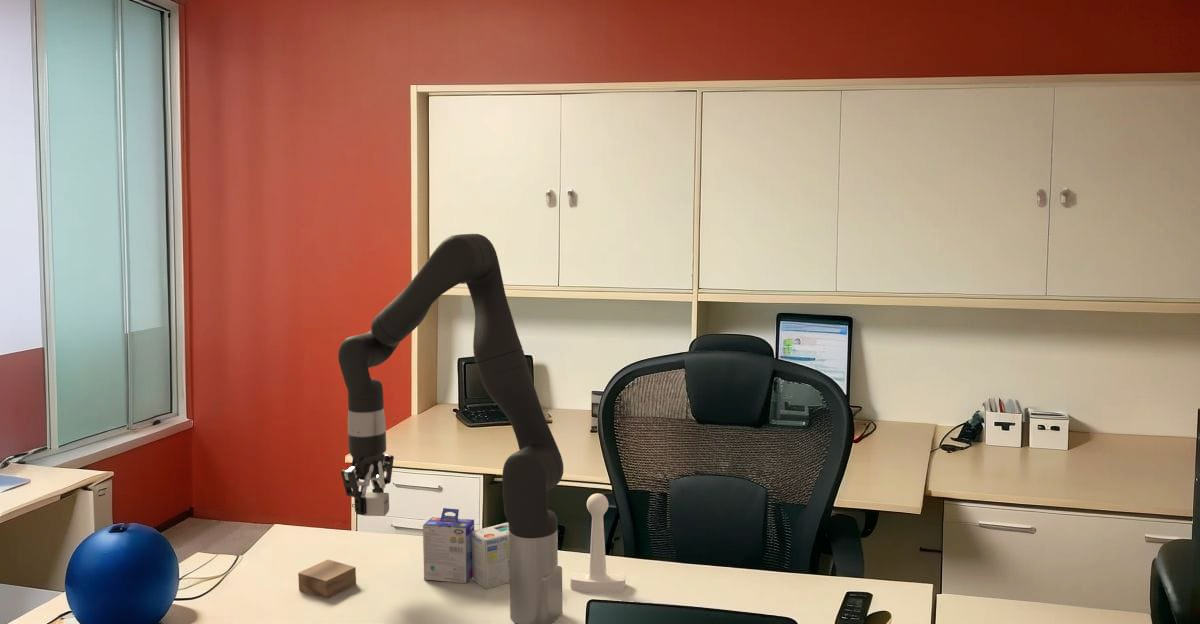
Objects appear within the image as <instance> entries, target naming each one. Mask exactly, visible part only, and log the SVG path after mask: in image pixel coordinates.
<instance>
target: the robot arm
mask: <svg viewBox="0 0 1200 624" xmlns="http://www.w3.org/2000/svg"><path fill="white" fill-rule="evenodd" d="M503 281H504V280H503V277H502V272H501V267H500V261H499V259H498V255H497V251H496V248H495V246H494V245H493V243H492V241H491V240H489V239H488V238H487V237H486V236H484V235H482V234H479V233H464V234H454V235H450V236H448V237H446V238H445V239H443V240H442V241H441V242H440V243H439V244H438V245H437V247H436V248H435V249H434V251H433V252H432V253H431V255H430V256H429V258H428V259H427V261H425V263H424V265H422V267H421V268H420V269H419V271H418V273H416V275H415V276H414V277H413V279H412V280H411V281H410V282H409V283H408V285H406V287H405V288H404V289H403V290H402V291H401V292H400V293H399V294H397V296H396V297H395V298H394V299H392V301H391V302H389V303H388V304H387V305H386V306H385V307H384V308H383V309H382V310H380V311H379V313H378V314H377V315H376V316H375V317H374V318H373V320H372V321H371V326H370V328H371V330H369V331H368V332H365V333H362V334H356V335H352V336H349V337H346V338H345V339H344V340H342V342H341V344H340V346H339V348H338V363H339V366H340V371H341V374H342V377H343V380H344V383H345V386H346V389H347V407H348V409H347V410H348V414H347V435H348V436H347V437H348V438H347V440H348V453H349V454H350V455H351V458H352V460H351V461H352V462H351V465H350V467H349V468H348V469H342V470H341V473H340V474H341V479H342V482H343V487H344V490H345V495H346V496H347V497H352V498H354V504H355V505H354V511H355V514H356V515H359V516H364V515H365V514H366V497H365V495H366V494H367V490H368V487H369V486H370V483H371V485H372V492H371V493H385V492H384V489H385V488H386V485H388V484H390V483H391V480H392V474H393V467H394V459H395V457H394V455H391V454H385V453H386V452H387V431H386V429H387V428H386V414H385V410H384V407H385V406H384V403H385V402H384V387H383V384H382V382H381V381H380V380H379V379H376V378H372V377H371V375H370V371H369V368H374V367H378V366H380V365H382V364H383V363H384V362H386V361H387V360H388V359H389V358H390V357H391V356H392V355H393V354H394V352H395V350H397V348H398V347H399V345H400V343H401V342H402V341H403V340H404V339H406V338H407V336H409V335H410V334H411V333H412V332H413V331H414V330H415V329H416V328H417V327H418V326H419V325H420V324H421V323H423V320H425V318H426V316H427V314H428V312H429V310H430V308H432V305H433V304H434V303H435V302H436V300H437V299H438V298H440V297H441V296H442V295H443V294H444V293H447V292H448V291H450V290H451V289H452V288H454V287H456V286H457V285H460V284H461V285H462V284H463V285H464V284H466V286H467V289H468V292H469V294H470V297H471V298H470V299H471V301H472V304H473V309H474V329H473V343H472V347H473V356H474V357H473V358H474V362H475V365H476V367H477V371H478V374H479V377H480V379H481V382H482V385H483V387H484V390H485V391H486V393H487V394H488V396H489V397H490V398H491V400H492V402H494V403H495V404H496V406H497V407H498V408H499V410H501V412H502V413H503V414H504V416H506V418H507V419H508V421H509V423H510V424H511V427H512V430H513V432H514V435H515V438H516V442H517V445H518V450H517V451H515V452H514V453H512V454H510V455H509V456H508V457H507V459H506V460H505V462H504V465H503V468H502V479H501V481H502V482H501V483H502V495H503V496H502V497H503V498H502V499H503V510H504V511H503V512H504V516H505V518H506V522H508V523H509V571H510V582H509V611H510V612H509V613H510V614H509V615H510V617H509V618H510V619H511V620H512V621H513V622H514V623H515V624H552V623H553V622H554V621H556V620H557V619H558V618H559V617H560V616H561V615H562V614H563V567H562V566H560V565H559V563H558V561H559V558H558V554H559V553H558V547H559V545H558V542H559V541H558V516H557V514H556V513H555V512H554V511H553V510H551V509H548V497H547V496H548V495H547V493H548V491H550V490H552V489H553V488H554V487H556V486H557V485H558V484H559V483H560V482H561V480H562V478H563V476H564V475H563V474H564V462H563V457H562V455H561V452H560V450H559V447H558V445H557V442H556V440H555V437H554V436H553V434H552V431H551V429H550V427H549V424H548V421H547V419H546V417H545V415H544V411H543V409H542V405H541V403H540V400H539V396H538V394H537V390H536V387H535V385H534V382H533V378H532V375H531V372H530V368H529V364H528V362H527V358H526V354H525V351H524V349H523V345H522V343H521V340H520V338H519V335H518V331H517V329H516V325H515V322H514V318H513V315H512V312H511V309H510V305H509V302H508V299H507V295H506V290H505V286H504V282H503ZM385 473H386V475H385ZM360 480H363V481H360Z"/></svg>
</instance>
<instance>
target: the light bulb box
mask: <svg viewBox="0 0 1200 624" xmlns="http://www.w3.org/2000/svg"><path fill="white" fill-rule="evenodd" d="M471 545H472V575H473V577H472V580H473V581H475V582H476V583H477V584H479V585H480V586H481V587H482V588H484V589H485V590H487V589H491V588H495V587H498V586H502V585H506V584H510V571H509V523H508V521H506V522H503V523H500V524H496V525H493V526H487V527H484V528H480V529H474V531H471Z"/></svg>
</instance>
